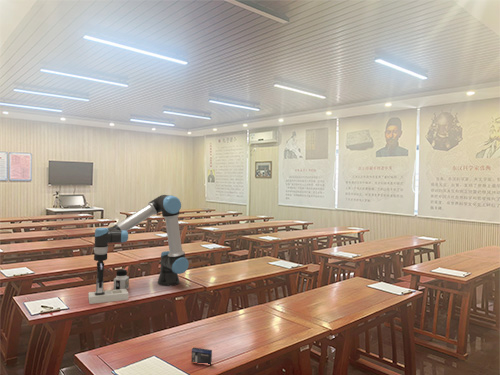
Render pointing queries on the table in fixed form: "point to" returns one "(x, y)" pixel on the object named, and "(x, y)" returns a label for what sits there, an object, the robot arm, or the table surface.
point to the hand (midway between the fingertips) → (99, 291)
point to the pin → (97, 288)
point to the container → (121, 280)
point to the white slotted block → (108, 296)
